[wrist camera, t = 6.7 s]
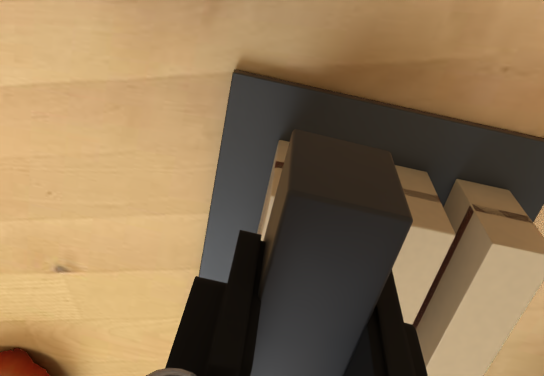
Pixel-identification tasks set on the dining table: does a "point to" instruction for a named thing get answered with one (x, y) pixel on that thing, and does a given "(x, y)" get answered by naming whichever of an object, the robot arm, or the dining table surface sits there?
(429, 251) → the cake
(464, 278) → the slice
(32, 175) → the dining table surface
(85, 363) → the dining table surface
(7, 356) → the tomato
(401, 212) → the knife
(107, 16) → the dining table surface
